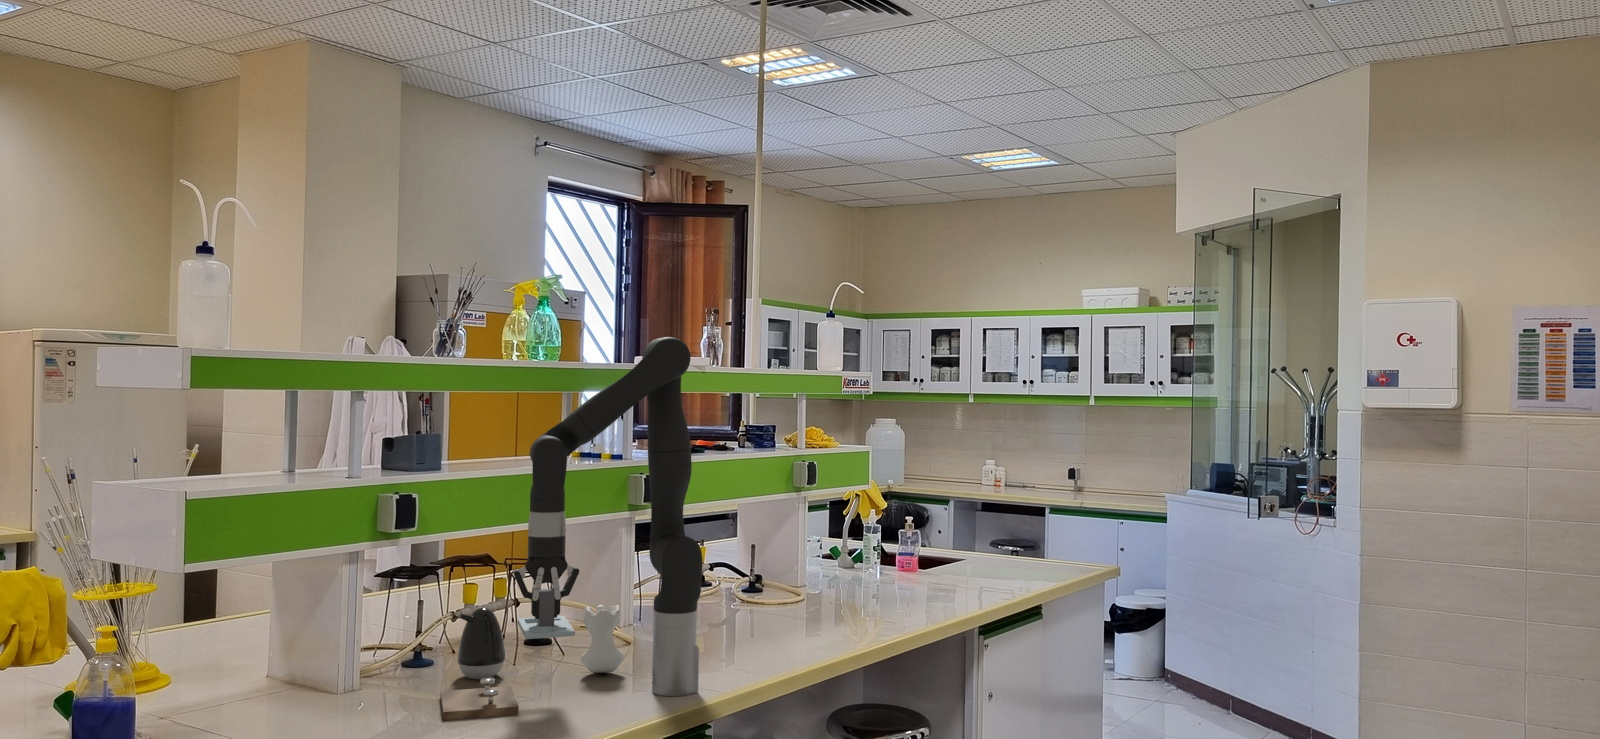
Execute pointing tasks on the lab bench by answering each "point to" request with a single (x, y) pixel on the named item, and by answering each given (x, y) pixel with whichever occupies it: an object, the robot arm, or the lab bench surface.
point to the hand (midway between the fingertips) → (545, 617)
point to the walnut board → (478, 701)
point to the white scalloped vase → (602, 639)
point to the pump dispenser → (481, 645)
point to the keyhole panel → (545, 630)
